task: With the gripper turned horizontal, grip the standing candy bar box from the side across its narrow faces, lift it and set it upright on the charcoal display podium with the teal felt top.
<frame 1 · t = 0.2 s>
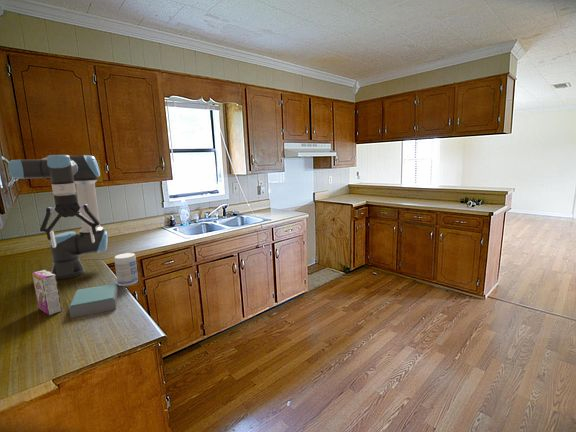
hand: (74, 244, 128), 27 cm above the counter, tool pointing down, fingers open, 13 cm apart
candy bar box: (50, 310, 130), on the counter
display podium: (96, 304, 134), on the counter
supplement tub: (128, 283, 157), on the counter
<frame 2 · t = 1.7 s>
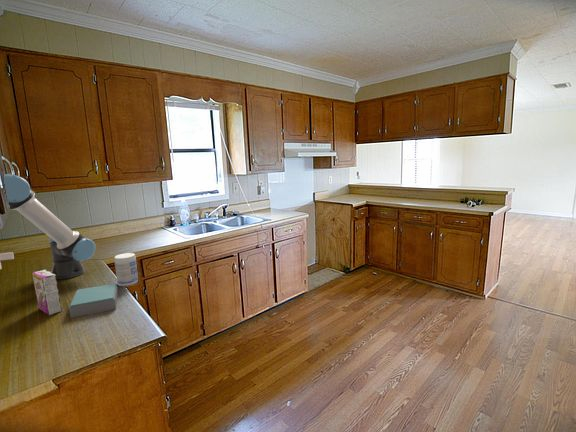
hand: (7, 260, 121), 24 cm above the counter, tool horizontal, fingers open, 13 cm apart
nothing on the counter moved.
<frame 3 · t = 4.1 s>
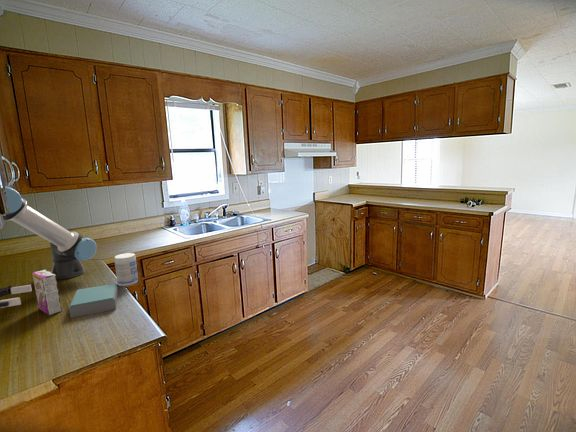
hand: (26, 294, 125), 9 cm above the counter, tool horizontal, fingers open, 13 cm apart
nothing on the counter moved.
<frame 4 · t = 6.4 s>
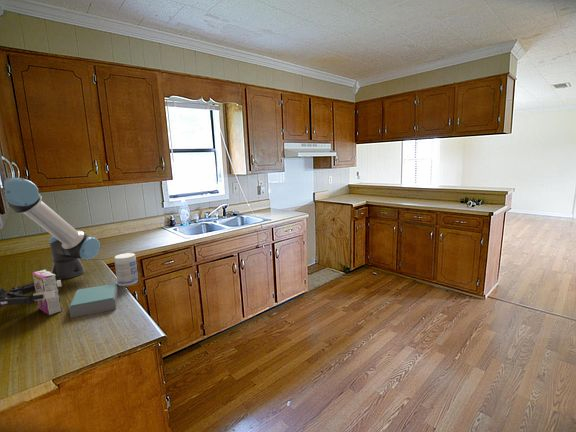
hand: (57, 288, 130), 9 cm above the counter, tool horizontal, fingers closed on candy bar box, 12 cm apart
candy bar box: (50, 310, 130), on the counter, touching gripper
everything else where it was.
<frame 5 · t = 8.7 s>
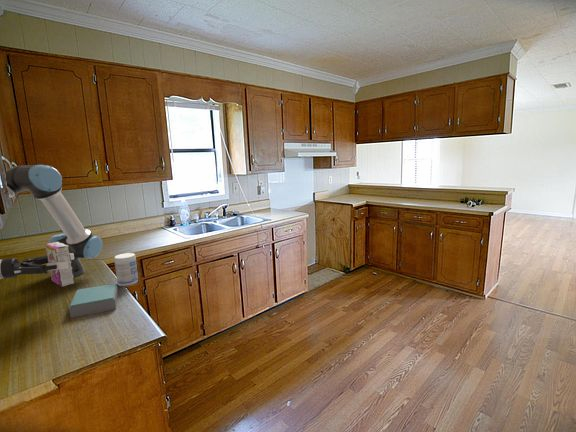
hand: (70, 260, 128), 21 cm above the counter, tool horizontal, fingers closed on candy bar box, 12 cm apart
candy bar box: (62, 282, 129), point 12 cm above the counter, touching gripper
everything else where it was.
when the fingers open (15 cm above the counter, at t = 11.1 s): candy bar box drops 1 cm, resting on display podium.
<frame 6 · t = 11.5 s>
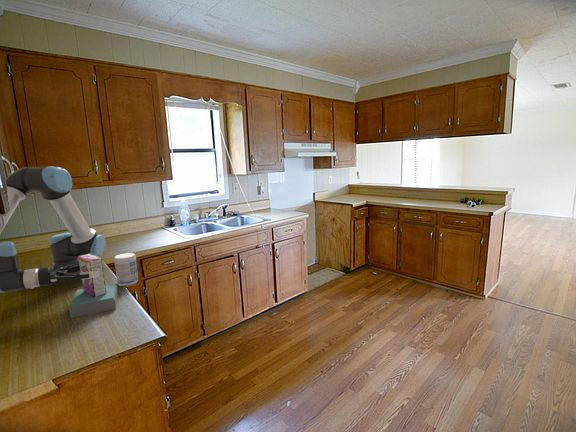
hand: (100, 268, 134), 15 cm above the counter, tool horizontal, fingers open, 13 cm apart
candy bar box: (94, 293, 134), point 5 cm above the counter, touching display podium
everything else where it was.
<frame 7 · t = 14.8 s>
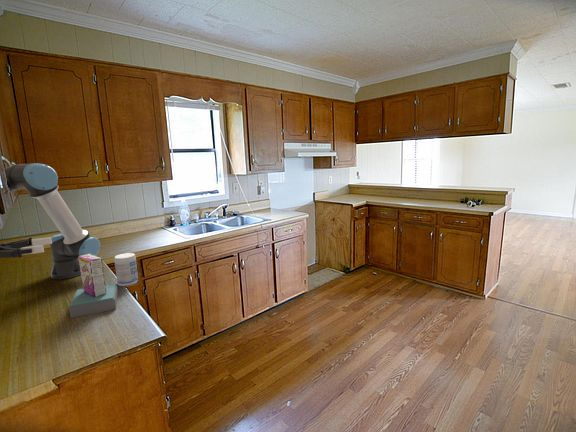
hand: (47, 244, 125), 28 cm above the counter, tool horizontal, fingers open, 13 cm apart
nothing on the counter moved.
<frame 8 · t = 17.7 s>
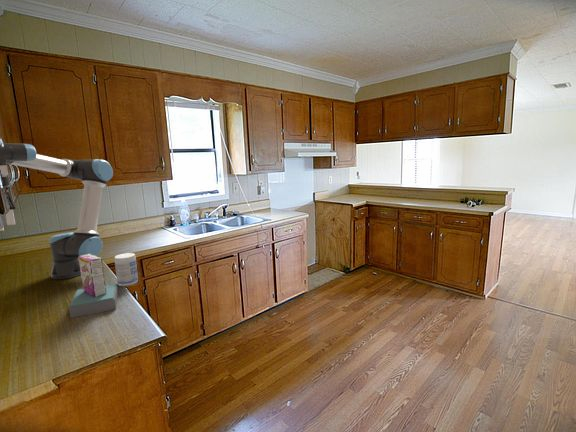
hand: (5, 227, 128), 35 cm above the counter, tool pointing down, fingers open, 13 cm apart
nothing on the counter moved.
at the end: candy bar box inside the target area on the display podium (0.8 cm from its centre), point 4.8 cm above the display podium's base; candy bar box tilted 0°; the gripper is holding nothing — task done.
